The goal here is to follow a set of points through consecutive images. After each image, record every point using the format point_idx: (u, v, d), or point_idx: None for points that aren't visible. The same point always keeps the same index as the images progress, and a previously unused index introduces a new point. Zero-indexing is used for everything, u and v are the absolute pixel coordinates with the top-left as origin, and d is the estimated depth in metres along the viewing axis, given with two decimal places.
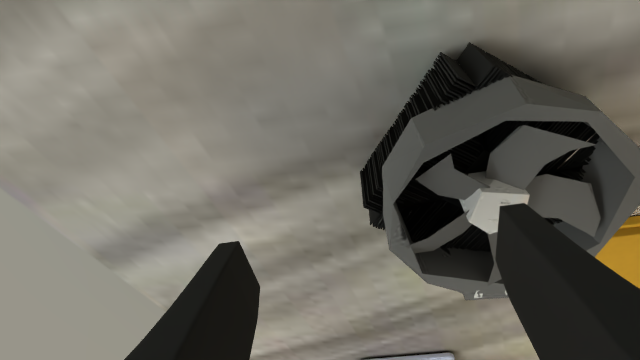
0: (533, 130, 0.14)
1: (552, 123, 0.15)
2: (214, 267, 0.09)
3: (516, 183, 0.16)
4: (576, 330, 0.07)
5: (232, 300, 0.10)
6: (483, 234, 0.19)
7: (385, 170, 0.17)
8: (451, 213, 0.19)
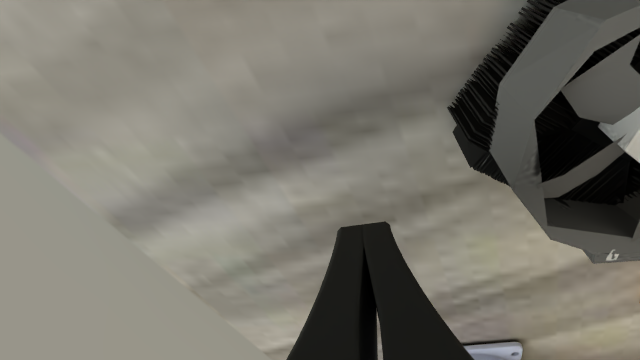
0: None
1: None
2: (351, 250, 0.09)
3: None
4: None
5: (368, 285, 0.09)
6: (612, 180, 0.15)
7: (508, 85, 0.13)
8: (578, 151, 0.14)
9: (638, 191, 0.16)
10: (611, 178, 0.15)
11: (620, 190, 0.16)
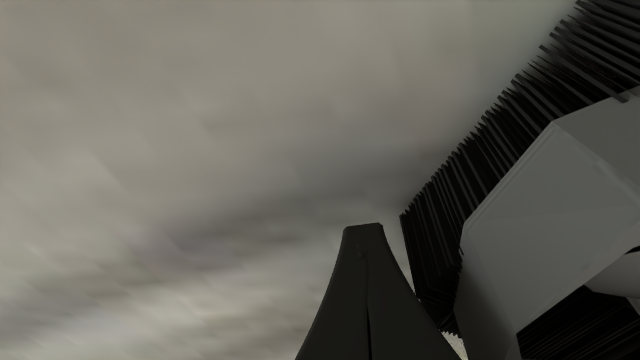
0: None
1: None
2: (358, 249, 0.09)
3: None
4: None
5: None
6: None
7: (476, 236, 0.08)
8: (588, 309, 0.09)
9: None
10: (636, 339, 0.10)
11: None
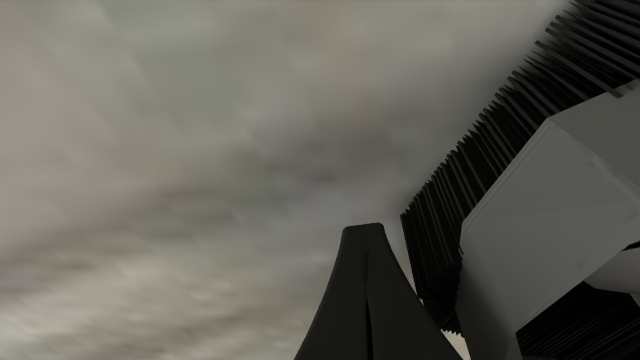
0: None
1: None
2: (357, 249, 0.09)
3: None
4: None
5: None
6: None
7: (474, 235, 0.08)
8: (592, 306, 0.09)
9: None
10: None
11: None
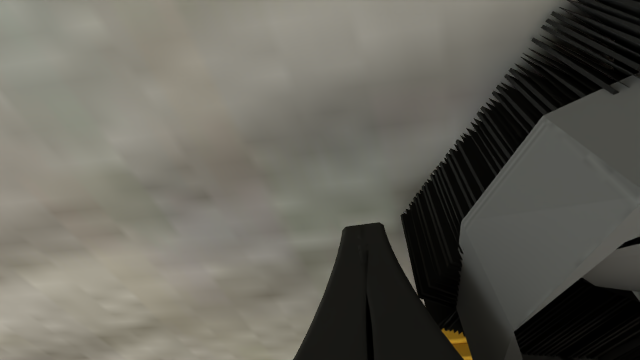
0: None
1: None
2: (357, 249, 0.09)
3: None
4: None
5: None
6: None
7: (473, 234, 0.08)
8: (595, 303, 0.09)
9: None
10: None
11: None
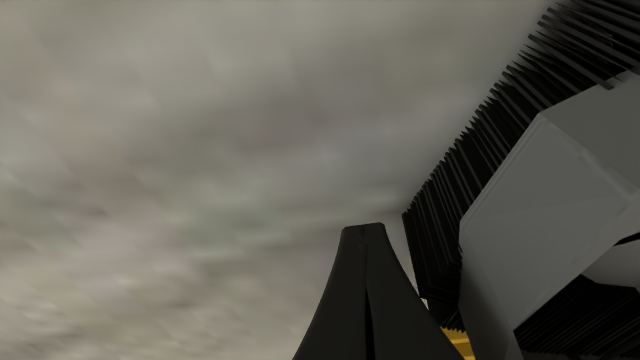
0: None
1: None
2: (356, 249, 0.09)
3: None
4: None
5: None
6: None
7: (472, 233, 0.08)
8: (598, 300, 0.09)
9: None
10: None
11: None
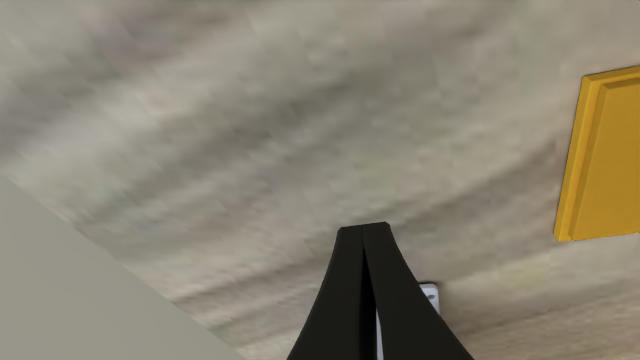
0: None
1: None
2: (351, 250, 0.09)
3: None
4: None
5: (368, 285, 0.09)
6: None
7: None
8: None
9: None
10: None
11: None
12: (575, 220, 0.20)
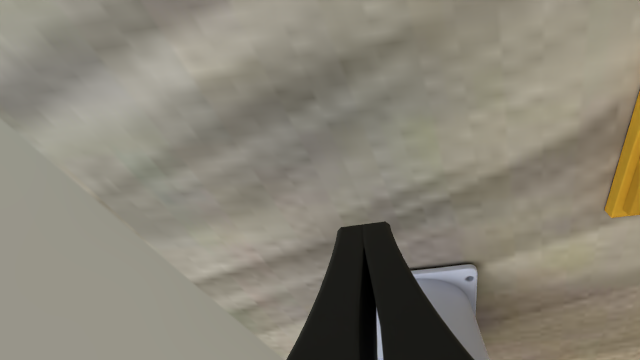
0: None
1: None
2: (351, 250, 0.09)
3: None
4: None
5: (368, 285, 0.09)
6: None
7: None
8: None
9: None
10: None
11: None
12: (634, 193, 0.19)
